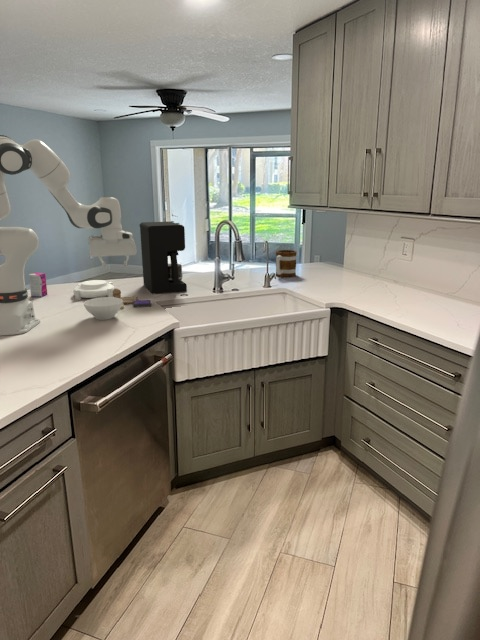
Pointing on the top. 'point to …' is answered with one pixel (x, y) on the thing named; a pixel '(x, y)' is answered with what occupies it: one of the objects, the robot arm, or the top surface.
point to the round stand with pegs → (94, 289)
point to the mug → (286, 263)
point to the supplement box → (38, 284)
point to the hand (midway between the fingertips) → (114, 265)
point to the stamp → (118, 296)
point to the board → (128, 300)
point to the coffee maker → (162, 256)
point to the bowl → (103, 307)
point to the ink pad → (142, 303)
